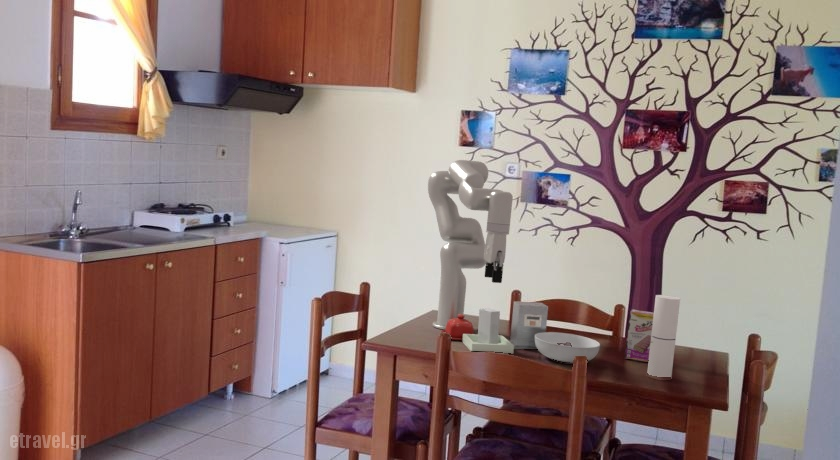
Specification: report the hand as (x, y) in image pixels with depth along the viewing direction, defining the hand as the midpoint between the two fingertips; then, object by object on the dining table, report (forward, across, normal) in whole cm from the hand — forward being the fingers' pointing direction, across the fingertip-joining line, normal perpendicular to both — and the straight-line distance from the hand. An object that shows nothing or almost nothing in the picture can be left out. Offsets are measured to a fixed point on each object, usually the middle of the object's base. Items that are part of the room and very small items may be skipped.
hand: (492, 279), depth 253 cm
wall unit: (+23, -3, +15) cm, 28 cm away
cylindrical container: (+22, +30, +47) cm, 60 cm away
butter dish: (+24, -12, -7) cm, 27 cm away
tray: (+23, +1, 0) cm, 23 cm away
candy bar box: (+23, +10, +51) cm, 57 cm away
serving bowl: (+23, +13, +23) cm, 35 cm away
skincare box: (+22, 0, 0) cm, 22 cm away
